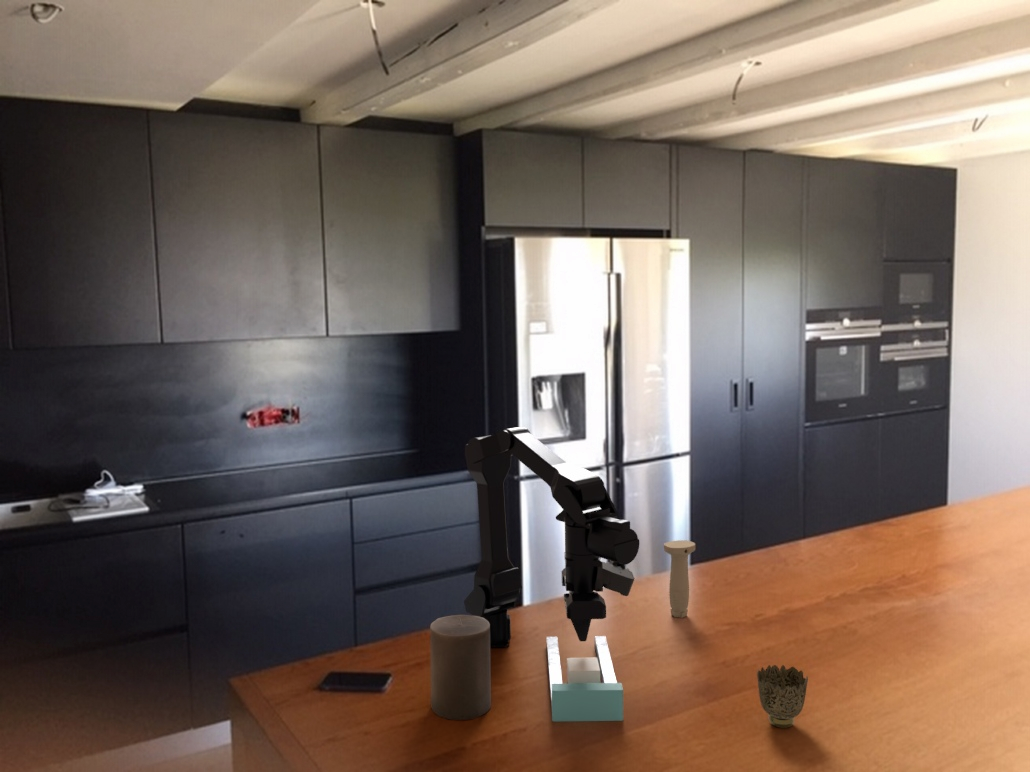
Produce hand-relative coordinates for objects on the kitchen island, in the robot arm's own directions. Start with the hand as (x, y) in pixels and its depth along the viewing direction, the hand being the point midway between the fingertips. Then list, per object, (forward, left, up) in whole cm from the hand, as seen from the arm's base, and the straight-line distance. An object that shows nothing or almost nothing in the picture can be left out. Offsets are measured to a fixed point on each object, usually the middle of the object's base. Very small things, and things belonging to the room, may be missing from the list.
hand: (582, 640), depth 149 cm
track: (0, +2, -8) cm, 8 cm away
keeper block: (0, -5, -8) cm, 9 cm away
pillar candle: (-20, -7, -8) cm, 23 cm away
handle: (+22, +31, -8) cm, 39 cm away
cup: (+29, -14, -8) cm, 34 cm away
